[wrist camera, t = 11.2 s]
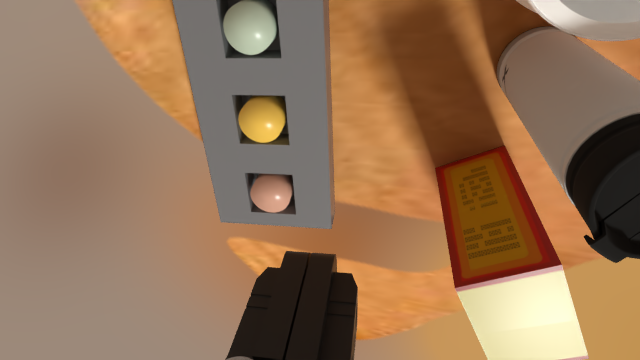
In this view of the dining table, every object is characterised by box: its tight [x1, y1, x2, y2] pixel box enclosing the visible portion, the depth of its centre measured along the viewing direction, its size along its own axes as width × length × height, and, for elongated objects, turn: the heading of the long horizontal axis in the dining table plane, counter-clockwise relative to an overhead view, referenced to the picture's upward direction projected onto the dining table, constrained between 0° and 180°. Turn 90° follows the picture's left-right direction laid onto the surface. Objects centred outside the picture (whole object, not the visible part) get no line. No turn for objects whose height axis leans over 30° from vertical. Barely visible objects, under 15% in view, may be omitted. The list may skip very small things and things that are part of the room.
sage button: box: [223, 0, 279, 55], centre depth 34 cm, size 4×4×3 cm
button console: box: [172, 0, 335, 229], centre depth 38 cm, size 24×12×3 cm, turn 2°
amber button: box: [238, 95, 287, 143], centre depth 38 cm, size 4×4×3 cm
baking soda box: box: [435, 146, 589, 360], centre depth 35 cm, size 10×6×16 cm
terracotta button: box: [250, 173, 294, 213], centre depth 42 cm, size 4×4×3 cm
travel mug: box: [497, 26, 640, 263], centre depth 26 cm, size 6×7×20 cm
